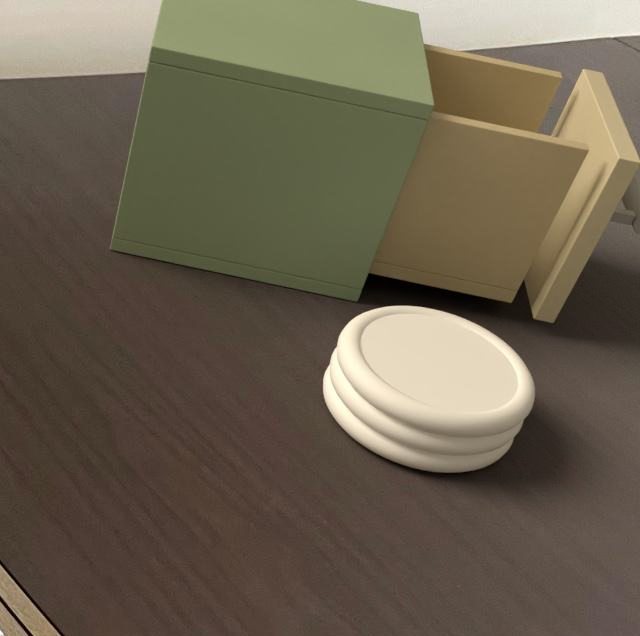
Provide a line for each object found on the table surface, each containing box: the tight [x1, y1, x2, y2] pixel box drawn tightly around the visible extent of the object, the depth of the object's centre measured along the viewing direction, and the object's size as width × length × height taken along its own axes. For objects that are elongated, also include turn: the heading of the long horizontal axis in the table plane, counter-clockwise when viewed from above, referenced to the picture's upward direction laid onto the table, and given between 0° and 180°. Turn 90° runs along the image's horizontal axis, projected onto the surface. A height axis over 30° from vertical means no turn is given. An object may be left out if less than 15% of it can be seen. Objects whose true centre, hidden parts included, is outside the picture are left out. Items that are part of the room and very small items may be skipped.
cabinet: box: [109, 0, 434, 303], centre depth 67 cm, size 15×13×12 cm
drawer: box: [368, 43, 640, 324], centre depth 67 cm, size 17×11×10 cm, turn 81°
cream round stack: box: [322, 305, 536, 474], centre depth 59 cm, size 10×10×4 cm
